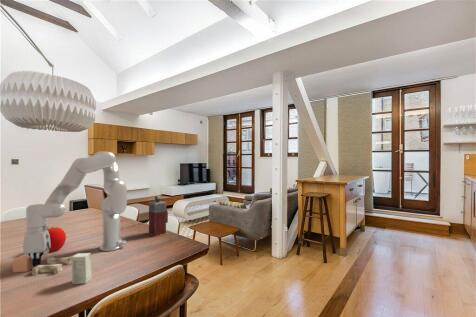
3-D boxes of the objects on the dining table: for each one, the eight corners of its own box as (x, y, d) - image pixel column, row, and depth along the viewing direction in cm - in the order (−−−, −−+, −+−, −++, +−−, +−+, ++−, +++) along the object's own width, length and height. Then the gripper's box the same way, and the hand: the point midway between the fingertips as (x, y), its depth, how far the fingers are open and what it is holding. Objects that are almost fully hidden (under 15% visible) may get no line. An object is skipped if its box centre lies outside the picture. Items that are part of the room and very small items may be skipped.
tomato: (35, 255, 133) (35, 230, 133) (45, 247, 144) (45, 224, 144) (60, 252, 137) (60, 228, 137) (69, 245, 148) (69, 223, 148)
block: (34, 266, 120) (34, 254, 120) (26, 271, 115) (26, 259, 115) (21, 266, 119) (21, 255, 119) (12, 272, 114) (12, 260, 114)
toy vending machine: (168, 232, 174) (169, 195, 174) (155, 236, 165) (155, 197, 165) (162, 230, 180) (162, 193, 180) (148, 233, 171) (148, 195, 171)
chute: (73, 260, 127) (73, 255, 127) (57, 273, 113) (57, 267, 113) (51, 261, 125) (51, 256, 125) (32, 275, 111) (32, 268, 111)
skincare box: (91, 278, 108) (91, 252, 108) (86, 284, 104) (86, 256, 104) (77, 279, 108) (77, 252, 108) (71, 284, 104) (71, 256, 104)
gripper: (57, 226, 122) (57, 261, 123) (25, 227, 120) (25, 263, 120) (48, 231, 115) (48, 268, 115) (13, 232, 113) (14, 270, 113)
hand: (36, 265), depth 118 cm, fingers closed
